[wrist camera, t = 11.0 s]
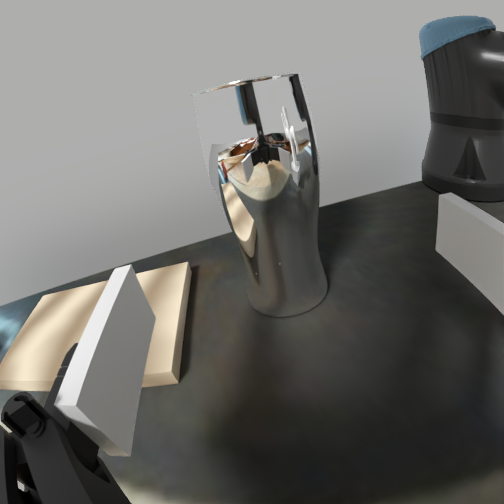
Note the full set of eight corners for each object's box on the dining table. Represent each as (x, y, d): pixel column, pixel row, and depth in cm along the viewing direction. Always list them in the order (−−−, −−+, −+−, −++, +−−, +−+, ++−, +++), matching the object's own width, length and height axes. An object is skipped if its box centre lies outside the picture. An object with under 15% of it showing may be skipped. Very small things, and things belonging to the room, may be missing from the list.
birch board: (191, 272, 28) (187, 261, 28) (178, 383, 17) (171, 371, 16) (48, 304, 29) (43, 295, 28) (-1, 389, 17) (-9, 379, 17)
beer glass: (241, 275, 26) (196, 96, 19) (321, 258, 26) (293, 77, 19) (244, 330, 20) (177, 95, 13) (345, 309, 20) (318, 67, 13)
